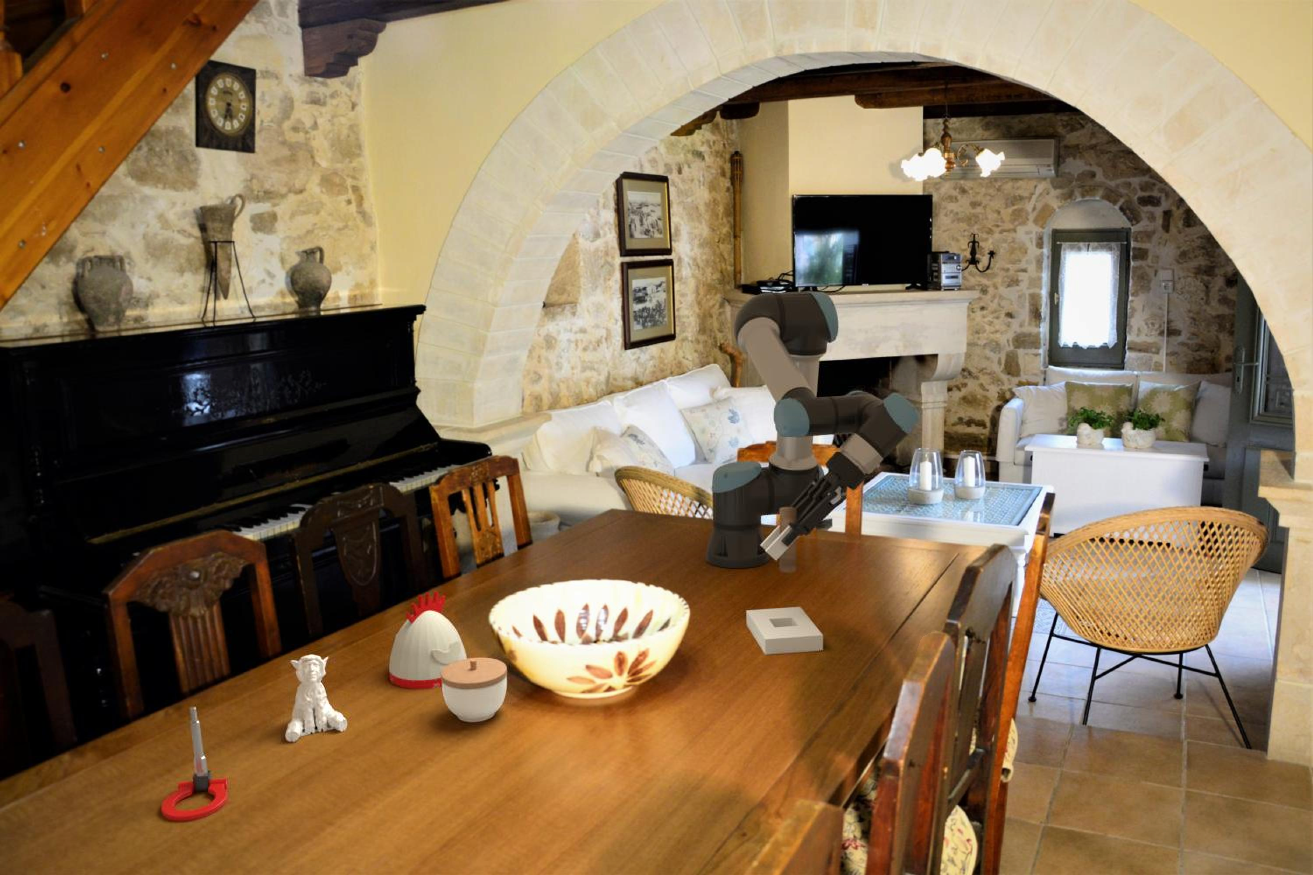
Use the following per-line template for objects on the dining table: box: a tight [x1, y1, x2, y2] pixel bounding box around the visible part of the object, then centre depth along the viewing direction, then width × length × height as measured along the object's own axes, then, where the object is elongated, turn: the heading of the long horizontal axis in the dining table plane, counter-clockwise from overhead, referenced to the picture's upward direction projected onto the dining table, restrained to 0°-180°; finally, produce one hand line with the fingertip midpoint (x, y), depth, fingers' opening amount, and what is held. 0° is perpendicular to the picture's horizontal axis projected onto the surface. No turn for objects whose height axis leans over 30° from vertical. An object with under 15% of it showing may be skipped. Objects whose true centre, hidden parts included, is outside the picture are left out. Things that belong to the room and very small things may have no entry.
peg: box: [779, 507, 798, 573], centre depth 202 cm, size 3×3×12 cm
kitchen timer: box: [388, 590, 468, 690], centre depth 191 cm, size 14×14×15 cm
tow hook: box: [161, 706, 229, 822], centre depth 147 cm, size 8×13×9 cm
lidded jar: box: [441, 657, 508, 723], centre depth 174 cm, size 11×11×9 cm
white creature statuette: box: [284, 654, 348, 743], centre depth 170 cm, size 10×9×12 cm
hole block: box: [745, 606, 824, 655], centre depth 205 cm, size 16×11×3 cm
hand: (768, 552), depth 202 cm, fingers closed on peg, 3 cm apart
